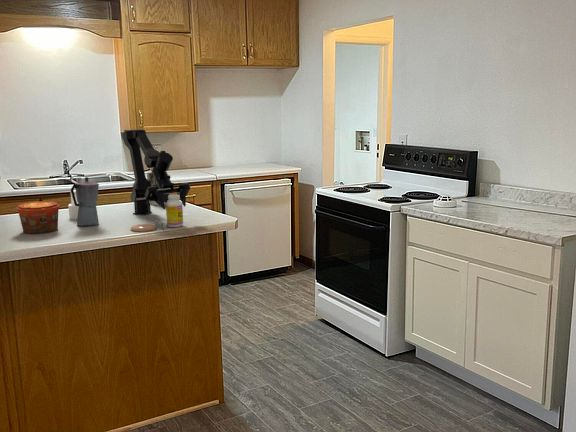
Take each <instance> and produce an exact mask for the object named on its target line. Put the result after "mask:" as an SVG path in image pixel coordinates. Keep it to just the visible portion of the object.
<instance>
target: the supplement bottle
mask: <svg viewBox="0 0 576 432" xmlns="http://www.w3.org/2000/svg"><path fill="white" fill-rule="evenodd" d="M168 199H169V200H168V202H167V203H166V205H165V211H166V215H165V216H166V226H167V227H169V228H180V227H182V226H183V225H184V212H183V210H184V209H183V204H182V201H181V200H180V195H178V194H169V195H168Z"/></svg>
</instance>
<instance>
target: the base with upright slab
mask: <svg viewBox="0 0 576 432" xmlns="http://www.w3.org/2000/svg"><path fill="white" fill-rule="evenodd" d="M74 193H75V199H76V202H77V204H78V201H77V196H76V190H75V189H74ZM78 208H79V206H75V204H74V200H73V197H72V193H71V189H70V203H69V204H68V216H69V217H68V218H69V219H70V220H77V217H78Z"/></svg>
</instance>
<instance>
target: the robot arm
mask: <svg viewBox="0 0 576 432" xmlns="http://www.w3.org/2000/svg"><path fill="white" fill-rule="evenodd" d="M146 132H147V131H146V130H145V129H143V128H139V129H137V128H136V129H133V128H132V129H124V131H123V132H122V133H121V136H122V137H121V138H122V140H123V143H124V146H126V148H127V149H128V150H129V155H130V159H131V166H132V171H133V177H134V182H133V185H132V191H131V194H130V196H129V197H130V201H131V202H133V206H134V212H132V215H138V216H139V215H141V216H146V215H148V214H152V213H153V211H152V208H151V204H150V203H149V200H150V201H155V202H156V203H158V204H159V205H160V207H161V208H162V209H163V210H166V205H164V202H168V201H169V199H168V195H171V194H176V195H180V198H179V200H180V201H181V202H182V207H186V205H187V202H186V201H187V199H186V197H187V196H188V194H189V192H190V190H191V188H192V187H191V185H190V183H186V182H185V183H179V185H178V187H174V186H175V184H174V182H172V180H171V177H172V176H171V175H170V174H168V170H170V167H171V165H172V162H173V160H174V158H173V155H172V154H171V153H168V152H166V151H165V150H160V151H159V150H157V149H155V148H154V146H153V144H152V142H151V141H150V139H149V137H148V135H147V133H146ZM142 153H143V155H144V158H143V157H142ZM144 165H145V166H146V168H147V169H151V172H152V174H151V176H152V177H154V178H155V180H156V186H154V187H152V186H151V181H150V180H147V176H146V173H145V167H144Z"/></svg>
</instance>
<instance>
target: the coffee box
mask: <svg viewBox="0 0 576 432" xmlns="http://www.w3.org/2000/svg"><path fill="white" fill-rule="evenodd" d="M151 174H152V171H151V172H146V179H147V180H150V181H151V186H152V187H154V186H156V180H155V178H154V177H152V176H151ZM149 203H150V205H151V206H152V205H154V206H157V207H159V206H160V205H159V204H158V203H156V202H155V201H150V200H149ZM166 203H167V202H164V205H165V206H166ZM160 207H161V206H160Z"/></svg>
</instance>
